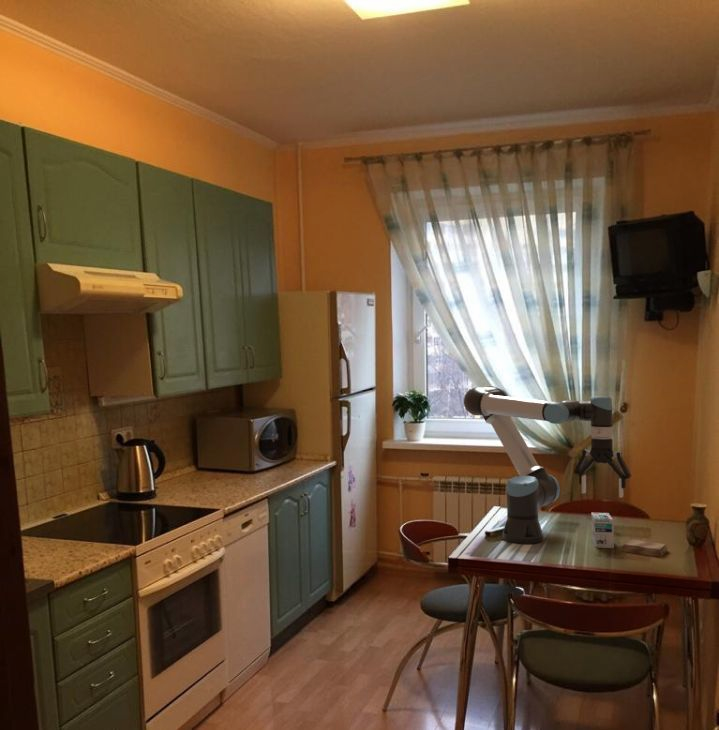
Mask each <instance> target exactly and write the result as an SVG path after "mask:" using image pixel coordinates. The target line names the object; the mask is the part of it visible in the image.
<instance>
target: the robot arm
mask: <svg viewBox="0 0 719 730" xmlns="http://www.w3.org/2000/svg"><path fill="white" fill-rule="evenodd" d="M612 400H613V399H612V398H611V396H604V395H602V396H601V395H593V396H591V397H590V400H588V401H586V400H572V399H571V400H562V401H560V402H559V401H558V402H557V401H549V400H540V399H532V398H522V397H521V398H520V397H514V396H509V394H508V393H507V391H505V390H504V389H503V388H502V387H498V386H492V385H490V386H482V387H474V388H471V389H469V390H468V391H467V392H466V393H465V394H464V397H463V407H464V408H465V410H466V411H467V412H468V413H469V414H471V415H473V416H482V418H483V420H484V421H485V423H486V424H490V425H491V426H492V428H493V431H495V434H496V435H497V437H498V439H499V441H500V443H501V444H502V446H503V448H504V450H505V452H506V454H507V456H508V457H509V459H510V461H511V463H512V465H513V467H514V468H515V470H516V471H517V473H518V475H519V476H513V477H510V478H508V480H507V483H506V490H505V491H506V500H507V501H506V512H507V513H506V514H507V516H506V521H505V524H504V528H503V531H502V539H503V540H504V541H505V542H509V543H513V544H521V545H533V544H539V543H542V542H543V541H544V533H543V529H542V527H541V523H540V521H539V508H542V507H544V506H545V507H547V506H549V505H550V504H552V503H554V502H556V501H557V500H558V498H559V496H560V493H561V488H560V483H559V481H558V480H557V478H556V477H555V476H553V475H551V474H548V471H547V470H546V469H545V467H544V466H541V465H539V464H538V462H537V460H536V459H535V457H534V455H533V454H532V451H531V449H530V448H529V446H528V445H527V443H526V442H525V440H524V438H523V436H522V434H521V432H520V431H519V429H518V427H517V425H516V423H515V422H514V420H513V418H520V419H527V420H528V419H529V420H536V421H545V422H547V423H550V424H556V425H559V424H565V423H568V422H569V423H571V422H577V421H578V422H579V421H582V422H590V436H591V439H590V450H589V449H587V448H585V449H583V450H581V451H582V452H581V457H580V458H579V461H578V463H576V466H575V468H574V470H573V473H574V474H576V475H578V482H579V485H581V494H585V493H587V475H586V474H585V473H586V472H587V471H588V470H589V469H591V467H592V466H593V465H594V464H595V463H597V464H600V463H601V464H608V465H609V466H610V467H611V469H613V471H614V472H615V473H616V474H617V475H618V477H619V479H618V498H624V489H626V487H627V479H630V478H632V474H631V472H630V470H629V467H627V464H626V462H625V460H624V458H623V452H622V451H618V452H614V451H613V447H614V445H613V442H614V441H613V436H614V435H613V434H614V433H613V410H614V409H613V401H612ZM588 456H591V459H590V460H589V462H587V463H586V465H585V466H583V464H584V463H585V461H586V459H587V458H588ZM614 457H615V459H616V460H617V462H618V464H619V465H620V466H618V465H617V464H616V463H615V460H614V459H613V458H614ZM582 467H583V468H582ZM620 468H621V469H622V470H621V469H620Z"/></svg>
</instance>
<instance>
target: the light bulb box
mask: <svg viewBox="0 0 719 730" xmlns="http://www.w3.org/2000/svg"><path fill="white" fill-rule="evenodd" d="M590 516H591V517H590V518H591V541H592V543H593V545H594V547H595V548H599V549H601V548H603V549H615V533H614V531H615V530H614V529H615V528H614V527H615V523H614V518H613V517H612V516H611V515H610V513H609V512H591V515H590Z"/></svg>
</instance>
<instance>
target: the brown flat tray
mask: <svg viewBox="0 0 719 730" xmlns="http://www.w3.org/2000/svg"><path fill="white" fill-rule="evenodd" d="M621 548H622V549H621V551H622V552H624V553H625V552H626V553H633V554H637V555H643V556H650V557H656V558H657V557H658V558H662V557H663V556H664V555H665V554H666V553H667V552H668V545H666V543H665V544H664V543H658V542H653V541H652V542H651V541H645V540H638V539H632V538H631V539H628V540H627V541H626V542H625V543H623V544H622V546H621Z"/></svg>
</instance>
